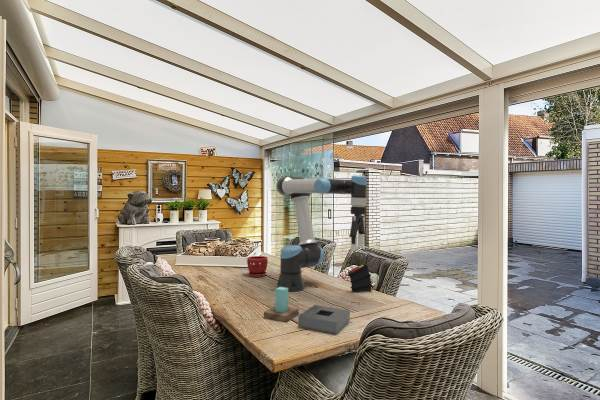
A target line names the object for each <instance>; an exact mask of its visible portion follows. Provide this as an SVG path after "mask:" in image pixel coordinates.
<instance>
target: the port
mask: <svg viewBox="0 0 600 400" xmlns="http://www.w3.org/2000/svg"><path fill="white" fill-rule="evenodd" d="M297 319H298V323H297V324H298V328H302V329H307V330H312V331H316V332H317V331H318V332H323V333H327V334H332V335H337V334H338V333H339V332H340V331H342V330H343V328H344V327H346V326H347V324H349V323H350V321H351V311H350V310H348V309H343V308H342V309H341V308H337V307H330V306H323V305H319V304H318V305H317V304H314V305H312V306H310V307H309V308H308V309H306V310H304V311H303V312H302V313H301V314H300V313H299V315H298V318H297Z"/></svg>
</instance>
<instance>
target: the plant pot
mask: <svg viewBox="0 0 600 400" xmlns="http://www.w3.org/2000/svg"><path fill="white" fill-rule="evenodd" d="M268 258H269V257H267V256H263V255H255V256H254V255H252V256H248V257H247V258H246V264H247V266H246V267H247V269H248V275H249V276H250V277H252V278H262V277H264V276H265V277H266V275H267V272H266V271H267V268H268V261H269V260H268Z"/></svg>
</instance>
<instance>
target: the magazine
mask: <svg viewBox="0 0 600 400" xmlns="http://www.w3.org/2000/svg"><path fill="white" fill-rule="evenodd" d="M371 275H372V274H370V271H369V266H368V264H366V263H362V264H360V265H358V266H356V267H355V268H352V269H351V270H349V271H347V276H348V277H349V278H350V281H349V283H350V284H351V286H350V289H351V292H353V293H361V292H360V291H366V292H372V287H373V284H372V279H371V277H372V276H371Z"/></svg>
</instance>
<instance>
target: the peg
mask: <svg viewBox="0 0 600 400" xmlns="http://www.w3.org/2000/svg"><path fill="white" fill-rule="evenodd" d="M274 301H275V302H274V303H275V305H274V306H275V312H281V313H285V312H287V311H288V307H289V291H288V288H285V287H279V288H277V287H276V288H275V299H274Z"/></svg>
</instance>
